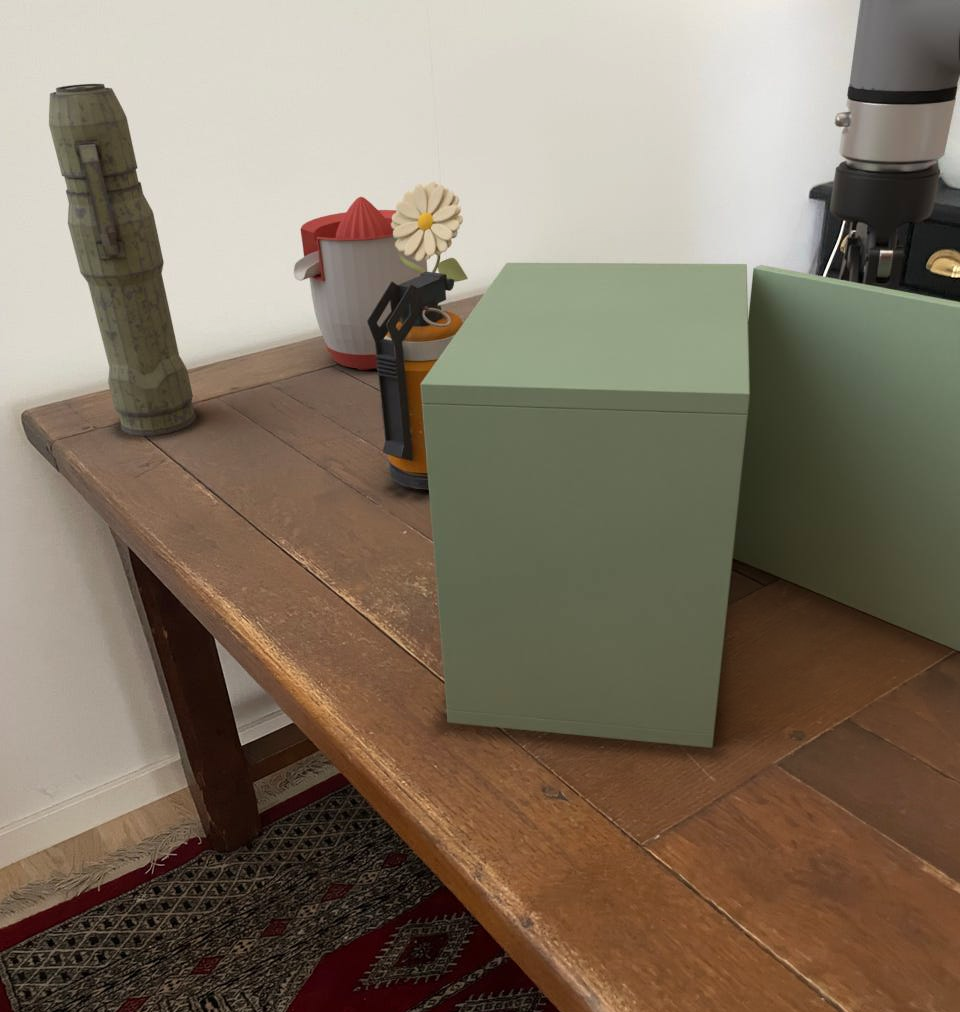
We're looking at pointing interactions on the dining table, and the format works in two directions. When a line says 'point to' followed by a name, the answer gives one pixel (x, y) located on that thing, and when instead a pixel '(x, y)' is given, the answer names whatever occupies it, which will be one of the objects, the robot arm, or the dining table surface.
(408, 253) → the flower in vase
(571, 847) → the dining table surface
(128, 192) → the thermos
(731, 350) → the cupboard
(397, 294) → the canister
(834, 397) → the cupboard door
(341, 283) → the citrus juicer
